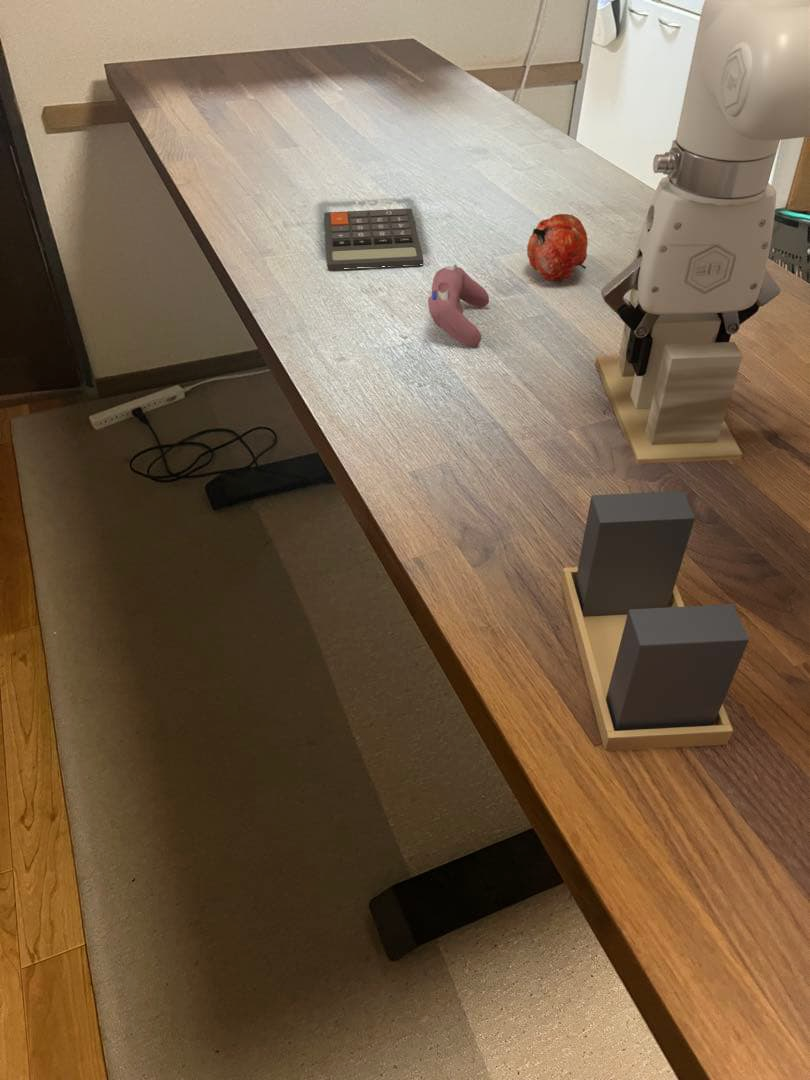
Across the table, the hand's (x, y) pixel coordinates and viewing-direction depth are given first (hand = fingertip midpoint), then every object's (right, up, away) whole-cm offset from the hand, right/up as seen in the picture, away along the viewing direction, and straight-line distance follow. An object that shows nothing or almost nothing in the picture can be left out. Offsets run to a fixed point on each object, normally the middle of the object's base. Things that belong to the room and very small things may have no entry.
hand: (672, 365), depth 79 cm
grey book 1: (-9, -21, -15) cm, 27 cm away
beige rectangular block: (0, -3, +3) cm, 4 cm away
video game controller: (-19, +7, +15) cm, 25 cm away
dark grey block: (-8, -28, -22) cm, 37 cm away
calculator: (-29, +22, +30) cm, 47 cm away
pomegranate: (-7, +15, +24) cm, 29 cm away
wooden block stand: (0, -4, +3) cm, 5 cm away
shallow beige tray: (-8, -25, -18) cm, 32 cm away
